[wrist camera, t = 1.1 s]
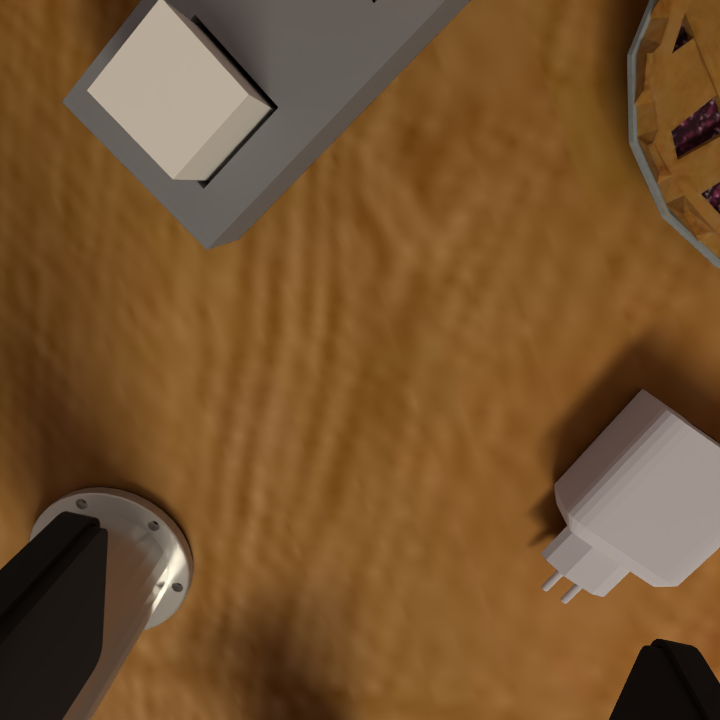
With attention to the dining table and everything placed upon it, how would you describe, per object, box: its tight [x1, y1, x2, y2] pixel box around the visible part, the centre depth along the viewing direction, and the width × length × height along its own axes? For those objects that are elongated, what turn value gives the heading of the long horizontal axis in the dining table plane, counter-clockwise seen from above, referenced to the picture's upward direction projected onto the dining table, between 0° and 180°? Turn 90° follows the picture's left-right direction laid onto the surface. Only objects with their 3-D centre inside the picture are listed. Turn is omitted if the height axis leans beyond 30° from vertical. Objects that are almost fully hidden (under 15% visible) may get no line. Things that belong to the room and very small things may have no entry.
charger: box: [541, 389, 720, 604], centre depth 37 cm, size 5×9×15 cm
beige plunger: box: [87, 0, 276, 181], centre depth 27 cm, size 5×5×6 cm
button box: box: [62, 0, 470, 250], centre depth 29 cm, size 22×10×6 cm, turn 133°
